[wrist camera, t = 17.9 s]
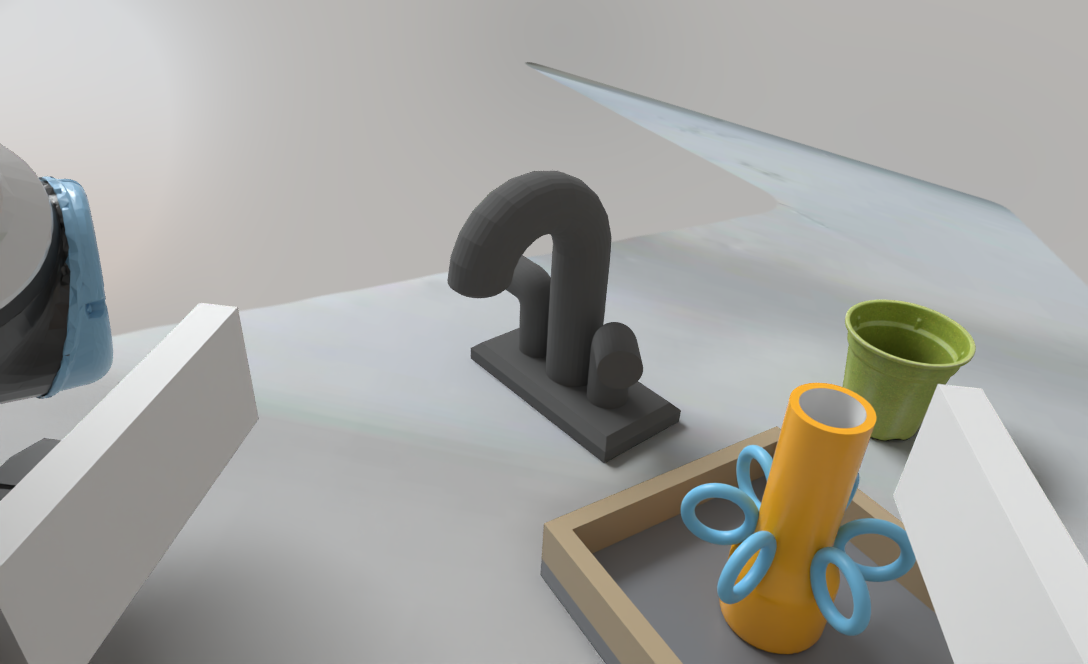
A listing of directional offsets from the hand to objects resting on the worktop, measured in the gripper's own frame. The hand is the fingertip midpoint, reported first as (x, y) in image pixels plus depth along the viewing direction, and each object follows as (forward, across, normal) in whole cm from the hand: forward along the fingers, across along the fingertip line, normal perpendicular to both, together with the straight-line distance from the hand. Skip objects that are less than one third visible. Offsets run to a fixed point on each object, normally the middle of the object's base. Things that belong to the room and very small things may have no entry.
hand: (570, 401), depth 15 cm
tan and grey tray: (+19, +12, -30) cm, 37 cm away
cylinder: (+19, +12, -28) cm, 36 cm away
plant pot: (+41, +24, -30) cm, 56 cm away
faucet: (+38, -4, -30) cm, 49 cm away
